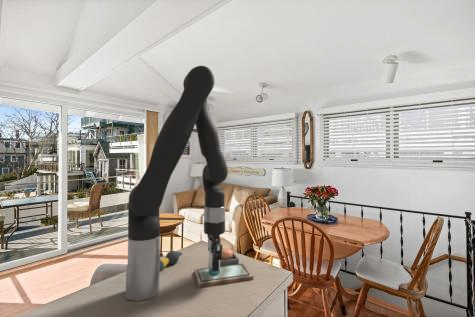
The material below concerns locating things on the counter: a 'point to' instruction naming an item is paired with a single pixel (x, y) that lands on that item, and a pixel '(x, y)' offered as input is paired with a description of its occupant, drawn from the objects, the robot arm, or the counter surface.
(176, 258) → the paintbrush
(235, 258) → the button housing
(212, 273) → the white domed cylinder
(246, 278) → the framed mirror
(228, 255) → the button
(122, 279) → the counter surface
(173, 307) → the counter surface
